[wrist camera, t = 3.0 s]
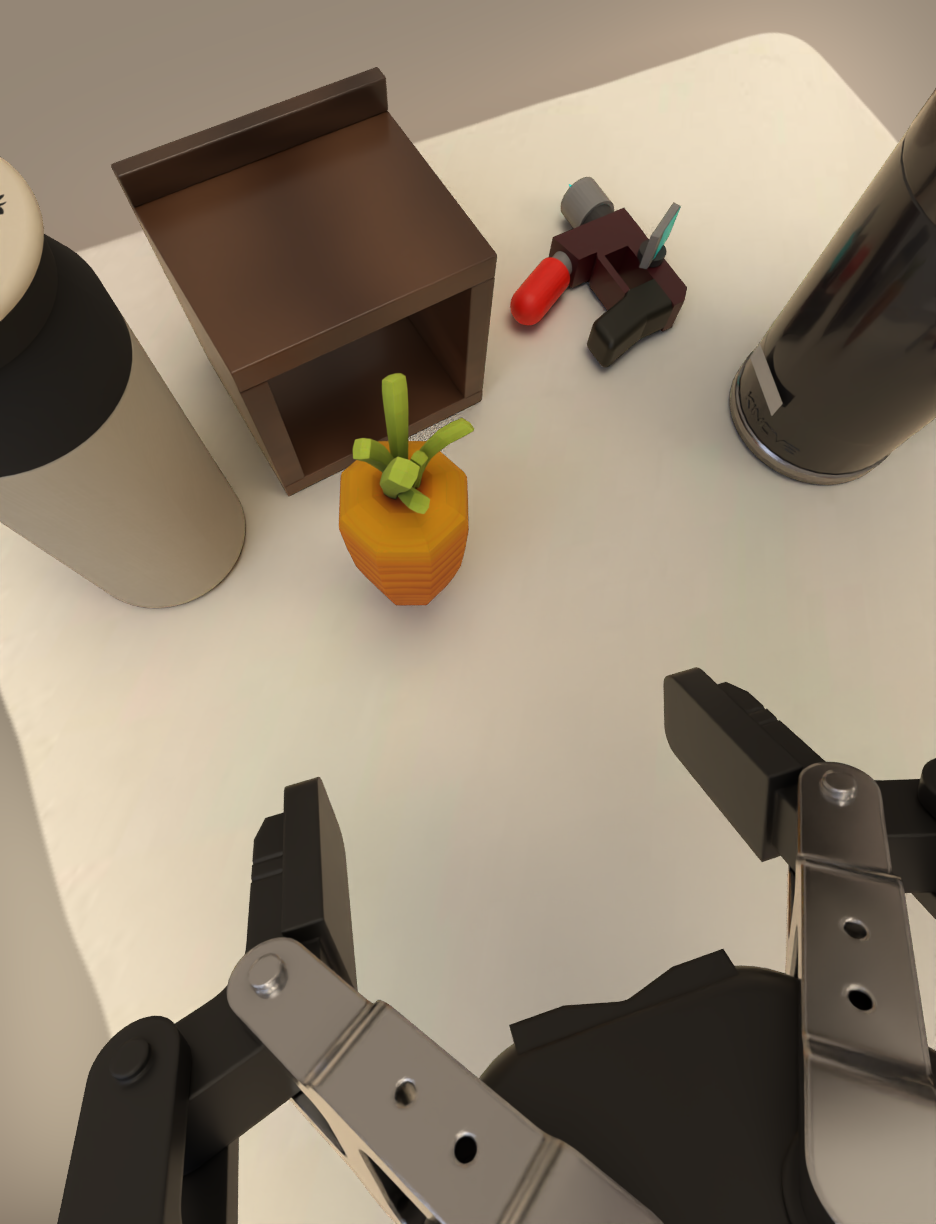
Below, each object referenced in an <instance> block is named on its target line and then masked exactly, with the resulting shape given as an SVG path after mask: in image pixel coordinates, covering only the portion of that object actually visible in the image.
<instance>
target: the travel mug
mask: <svg viewBox="0 0 936 1224" xmlns="http://www.w3.org/2000/svg"><path fill="white" fill-rule="evenodd" d="M0 522H1V523H3V524H4V525H6V526H7V527H9V528H10V529H12V530H13V531H15V532H16V533H18V534H19V535H21V536H22V537H24V538H25V539H27V540H28V541H30V542H31V543H33V544H34V545H36V546H37V547H39V548H40V549H42V550H44V551H45V552H47V553H48V554H50V555H51V556H53V557H54V558H56V559H57V560H59V561H60V562H62V563H63V564H65V565H66V566H68V567H69V568H71V569H72V570H74V571H75V572H77V573H78V574H80V575H81V576H83V577H84V578H86V579H87V580H89V581H90V582H92V583H93V584H95V585H96V586H98V587H99V588H101V589H103V590H104V591H106V592H107V593H109V594H110V595H112V596H113V597H115V598H117V599H119V600H121V601H123V602H125V603H128V604H131V605H135V606H139V607H146V608H164V607H171V606H176V605H180V604H183V603H187V602H189V601H192V600H194V599H196V598H198V597H200V596H202V595H204V594H205V593H207V592H208V591H210V590H211V589H212V588H214V587H215V586H216V585H217V584H218V583H220V582H221V581H222V580H223V579H224V578H225V576H226V575H227V574H228V573H229V572H230V570H231V569H232V567H233V566H234V564H235V563H236V561H237V559H238V557H239V555H240V552H241V550H242V546H243V543H244V537H245V518H244V513H243V509H242V506H241V504H240V501H239V500H238V498H237V496H236V494H235V493H234V491H233V490H232V488H231V486H230V485H229V483H228V482H227V480H226V478H225V477H224V475H223V474H222V472H221V471H220V469H219V467H218V466H217V464H216V463H215V461H214V460H213V458H212V456H211V455H210V453H209V452H208V450H207V448H206V447H205V445H204V444H203V442H202V441H201V439H200V437H199V436H198V434H197V433H196V431H195V430H194V428H193V426H192V425H191V423H190V422H189V420H188V418H187V417H186V415H185V414H184V412H183V411H182V409H181V407H180V406H179V404H178V403H177V401H176V400H175V398H174V396H173V395H172V393H171V392H170V390H169V388H168V387H167V385H166V384H165V382H164V381H163V379H162V377H161V376H160V374H159V373H158V371H157V370H156V368H155V366H154V365H153V363H152V362H151V360H150V358H149V357H148V355H147V354H146V352H145V351H144V349H143V347H142V346H141V344H140V343H139V341H138V340H137V338H136V336H135V335H134V333H133V332H132V330H131V329H130V327H129V325H128V324H127V322H126V321H125V319H124V317H123V316H122V314H121V313H120V311H119V310H118V308H117V306H116V305H115V303H114V302H113V300H112V299H111V297H110V295H109V294H108V292H107V291H106V289H105V287H104V286H103V284H102V283H101V281H100V280H99V278H98V276H97V275H96V274H95V272H94V271H93V269H92V268H91V267H90V266H89V265H88V264H87V263H86V261H85V260H83V259H82V258H81V257H80V256H79V255H78V254H77V253H75V252H74V251H72V250H71V249H70V248H68V247H66V246H64V245H63V244H61V243H59V242H58V241H56V240H54V239H52V238H51V237H49V236H47V235H45V234H44V227H43V220H42V215H41V212H40V208H39V205H38V202H37V200H36V198H35V196H34V194H33V192H32V190H31V188H30V187H29V185H28V184H27V182H26V181H25V180H24V179H23V177H22V176H21V175H20V174H19V172H17V171H16V170H15V169H14V168H13V167H12V166H11V165H10V164H9V163H8V162H7V161H5V160H4V159H3V158H1V157H0Z"/></svg>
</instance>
